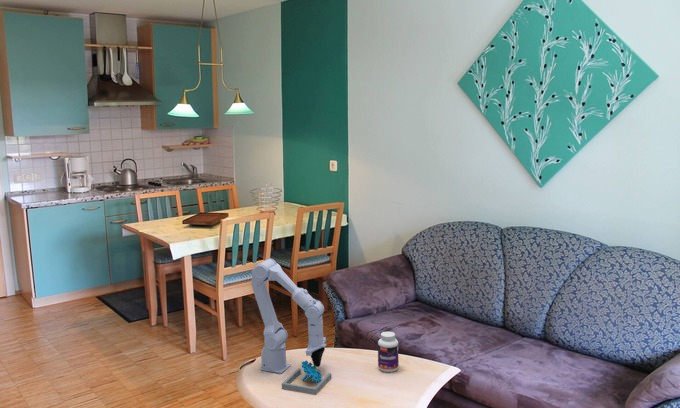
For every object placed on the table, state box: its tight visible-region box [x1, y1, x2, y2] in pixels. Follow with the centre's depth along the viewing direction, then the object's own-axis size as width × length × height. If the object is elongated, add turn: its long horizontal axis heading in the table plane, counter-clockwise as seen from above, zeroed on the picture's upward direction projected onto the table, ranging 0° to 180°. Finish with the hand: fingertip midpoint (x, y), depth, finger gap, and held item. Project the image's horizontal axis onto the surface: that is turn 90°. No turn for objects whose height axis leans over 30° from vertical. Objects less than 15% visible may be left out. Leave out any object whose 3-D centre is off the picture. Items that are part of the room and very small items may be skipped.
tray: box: [281, 367, 332, 396], centre depth 224 cm, size 14×14×2 cm
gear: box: [300, 360, 323, 384], centre depth 226 cm, size 11×6×10 cm
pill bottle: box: [377, 331, 400, 373], centre depth 233 cm, size 8×8×14 cm
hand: (317, 366), depth 232 cm, fingers closed
